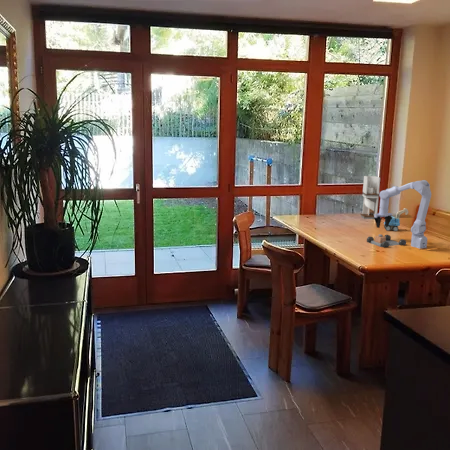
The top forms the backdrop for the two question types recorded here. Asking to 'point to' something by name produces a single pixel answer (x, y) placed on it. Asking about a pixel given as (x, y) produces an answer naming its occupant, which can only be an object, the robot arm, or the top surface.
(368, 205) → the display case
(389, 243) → the chassis
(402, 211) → the toy excavator
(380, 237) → the block
